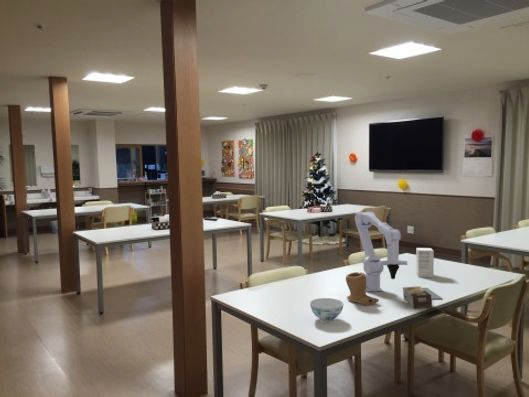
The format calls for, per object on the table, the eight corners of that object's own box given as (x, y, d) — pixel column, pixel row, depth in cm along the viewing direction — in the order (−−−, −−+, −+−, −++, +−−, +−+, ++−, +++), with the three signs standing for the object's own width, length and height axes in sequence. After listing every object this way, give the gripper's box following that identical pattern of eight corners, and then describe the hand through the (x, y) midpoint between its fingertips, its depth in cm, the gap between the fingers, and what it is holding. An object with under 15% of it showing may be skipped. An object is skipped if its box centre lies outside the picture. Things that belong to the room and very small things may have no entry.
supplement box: (433, 277, 266) (434, 250, 265) (418, 277, 268) (418, 250, 267) (431, 274, 276) (431, 247, 274) (415, 273, 277) (416, 247, 276)
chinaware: (309, 325, 190) (309, 307, 190) (310, 313, 205) (310, 297, 204) (344, 326, 188) (343, 308, 187) (343, 314, 202) (343, 298, 202)
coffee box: (419, 285, 225) (432, 294, 209) (420, 297, 225) (433, 307, 209) (402, 287, 225) (413, 296, 209) (403, 299, 225) (414, 309, 209)
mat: (421, 299, 223) (421, 298, 223) (407, 289, 243) (407, 288, 243) (442, 299, 223) (442, 298, 223) (426, 288, 243) (426, 287, 243)
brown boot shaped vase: (341, 300, 224) (340, 272, 223) (358, 296, 230) (358, 268, 229) (362, 308, 211) (362, 278, 210) (379, 304, 217) (379, 274, 216)
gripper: (381, 254, 222) (381, 280, 223) (409, 254, 223) (409, 280, 224) (377, 252, 229) (377, 277, 230) (404, 251, 230) (404, 276, 231)
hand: (392, 278), depth 227 cm, fingers closed
